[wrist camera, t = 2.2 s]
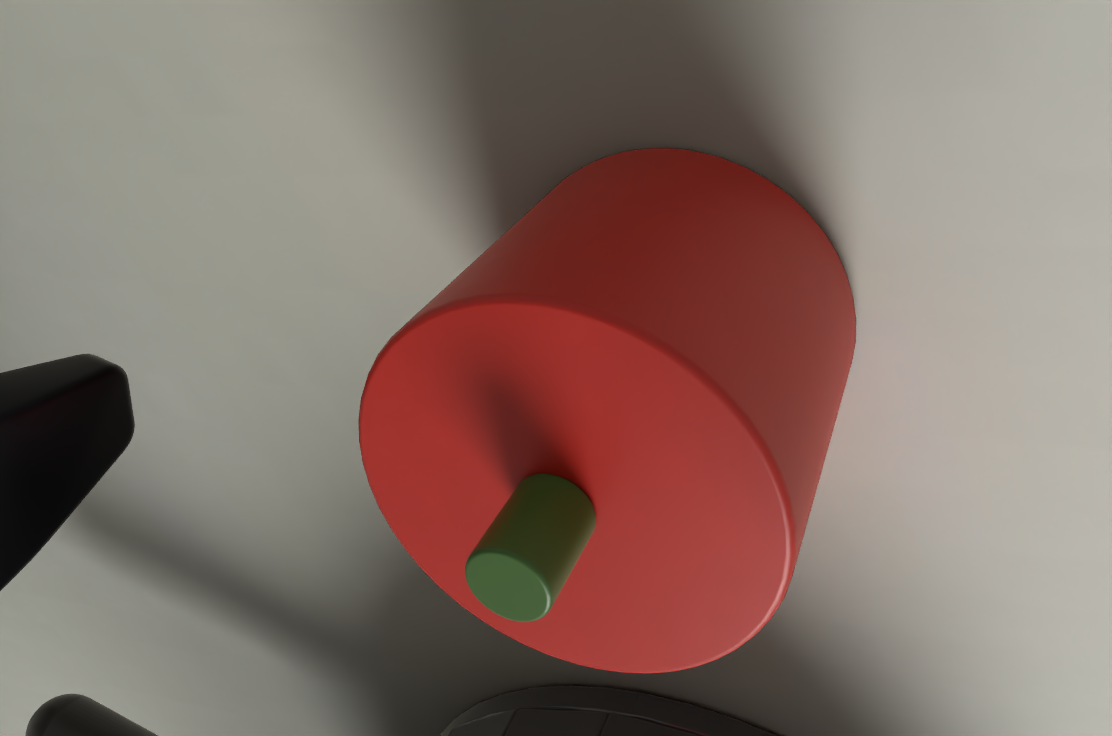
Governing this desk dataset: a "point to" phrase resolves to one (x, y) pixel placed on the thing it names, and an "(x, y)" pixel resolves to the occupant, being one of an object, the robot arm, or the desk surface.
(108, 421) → the robot arm
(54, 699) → the pan handle
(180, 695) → the desk surface
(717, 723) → the pan
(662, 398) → the pepper
